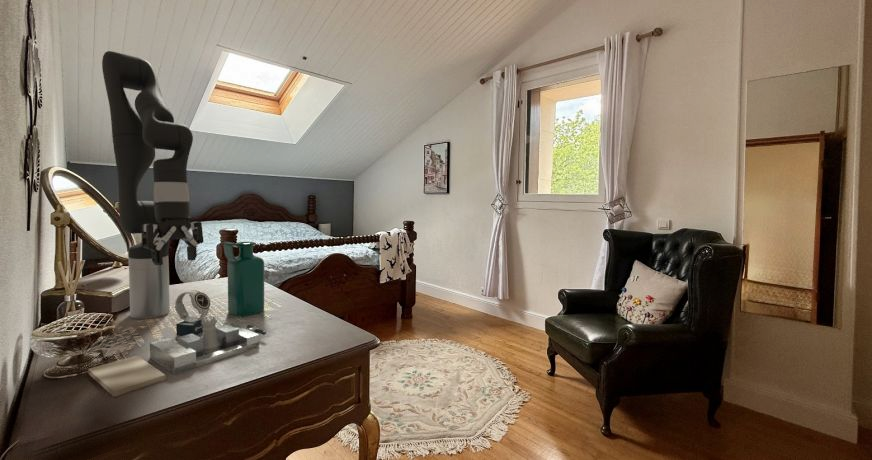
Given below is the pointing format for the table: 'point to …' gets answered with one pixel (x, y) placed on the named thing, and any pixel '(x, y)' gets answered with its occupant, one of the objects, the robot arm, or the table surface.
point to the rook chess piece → (209, 336)
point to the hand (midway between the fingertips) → (175, 262)
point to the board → (126, 375)
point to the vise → (191, 347)
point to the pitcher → (244, 280)
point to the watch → (190, 323)
